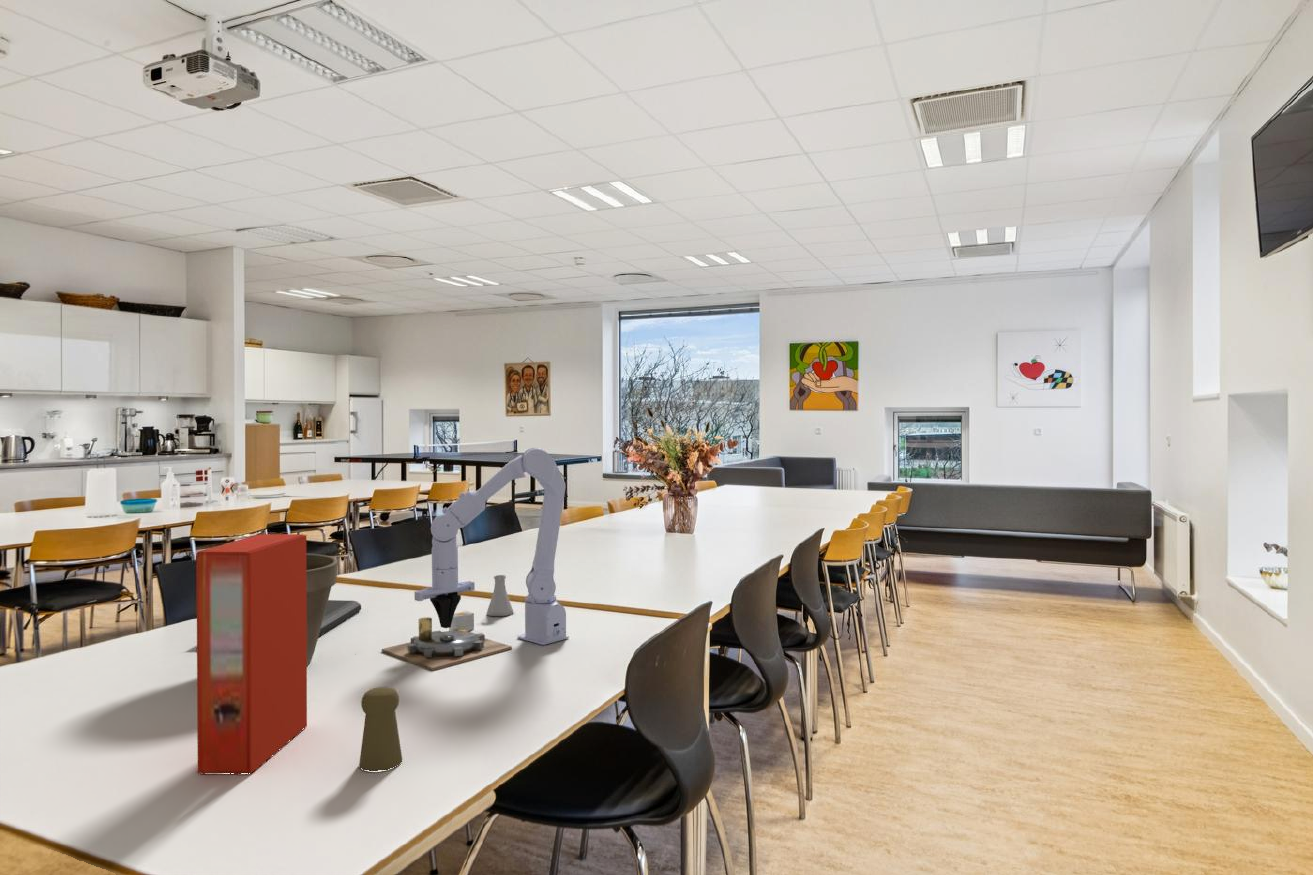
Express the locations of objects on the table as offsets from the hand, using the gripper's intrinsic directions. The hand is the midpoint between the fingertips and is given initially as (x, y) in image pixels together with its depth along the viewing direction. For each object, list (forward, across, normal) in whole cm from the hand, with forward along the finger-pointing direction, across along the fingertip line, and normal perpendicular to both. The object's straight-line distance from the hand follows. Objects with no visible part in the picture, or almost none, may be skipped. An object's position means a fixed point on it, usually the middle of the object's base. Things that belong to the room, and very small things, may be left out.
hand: (445, 627), depth 177 cm
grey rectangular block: (+4, -9, -7) cm, 13 cm away
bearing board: (+4, +3, +4) cm, 6 cm away
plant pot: (+4, +33, -13) cm, 35 cm away
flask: (+4, -25, -13) cm, 29 cm away
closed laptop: (+4, +18, -42) cm, 46 cm away
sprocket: (+4, +3, +4) cm, 6 cm away
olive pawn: (+4, +42, +46) cm, 63 cm away
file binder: (+4, +52, +27) cm, 59 cm away
